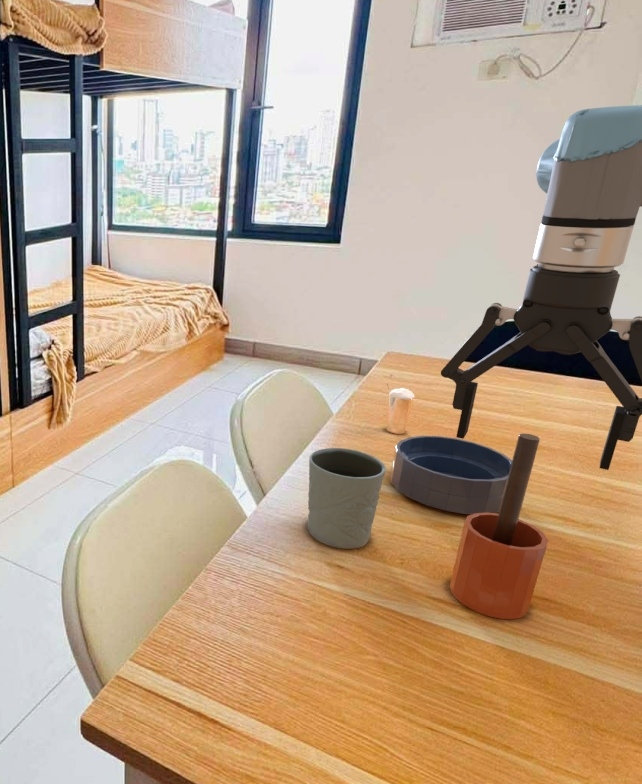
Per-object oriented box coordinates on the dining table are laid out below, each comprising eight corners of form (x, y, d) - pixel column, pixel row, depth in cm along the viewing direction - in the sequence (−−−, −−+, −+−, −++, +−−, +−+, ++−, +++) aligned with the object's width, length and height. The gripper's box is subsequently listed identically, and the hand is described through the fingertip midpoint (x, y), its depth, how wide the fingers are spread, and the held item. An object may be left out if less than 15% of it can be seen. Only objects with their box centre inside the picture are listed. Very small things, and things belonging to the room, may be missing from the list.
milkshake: (381, 424, 134) (388, 380, 130) (409, 429, 131) (417, 384, 128) (377, 431, 130) (384, 386, 127) (405, 437, 127) (414, 390, 124)
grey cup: (376, 557, 89) (389, 482, 85) (300, 544, 92) (309, 471, 88) (369, 521, 98) (381, 451, 94) (300, 510, 101) (309, 443, 97)
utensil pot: (531, 594, 81) (551, 527, 77) (523, 629, 75) (543, 558, 72) (457, 569, 86) (472, 505, 83) (443, 599, 80) (459, 532, 77)
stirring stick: (498, 592, 80) (540, 436, 73) (496, 600, 79) (538, 441, 71) (480, 586, 82) (520, 431, 74) (477, 594, 80) (517, 437, 73)
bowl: (514, 487, 107) (523, 453, 105) (498, 529, 95) (508, 492, 93) (404, 459, 118) (410, 428, 116) (377, 494, 106) (383, 459, 104)
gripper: (433, 262, 71) (403, 433, 79) (749, 282, 56) (676, 493, 63) (447, 254, 77) (418, 415, 84) (740, 271, 61) (673, 466, 68)
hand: (528, 449), depth 73 cm, fingers open, 13 cm apart
